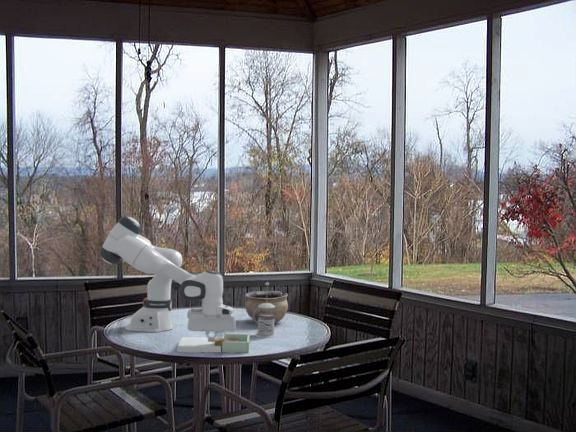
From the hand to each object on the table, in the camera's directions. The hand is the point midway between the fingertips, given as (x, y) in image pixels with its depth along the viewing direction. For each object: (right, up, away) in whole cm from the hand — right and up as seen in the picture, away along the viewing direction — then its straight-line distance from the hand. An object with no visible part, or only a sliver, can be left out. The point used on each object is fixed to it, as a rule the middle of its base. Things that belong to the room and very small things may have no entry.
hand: (211, 341), depth 272 cm
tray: (+10, -4, +4) cm, 11 cm away
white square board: (-5, -3, +4) cm, 7 cm away
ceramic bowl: (+21, -2, +58) cm, 62 cm away
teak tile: (+4, -1, 0) cm, 4 cm away
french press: (+21, -3, +30) cm, 37 cm away
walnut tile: (+8, -3, +8) cm, 12 cm away
